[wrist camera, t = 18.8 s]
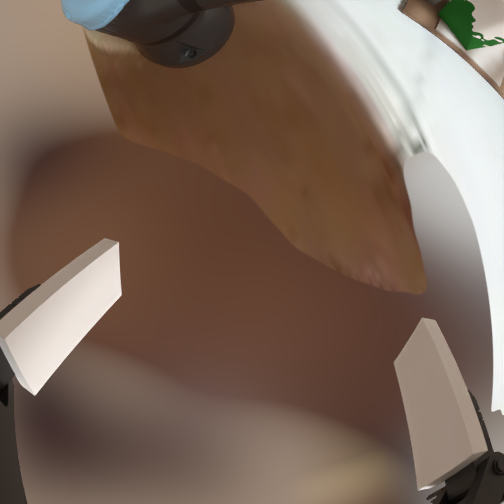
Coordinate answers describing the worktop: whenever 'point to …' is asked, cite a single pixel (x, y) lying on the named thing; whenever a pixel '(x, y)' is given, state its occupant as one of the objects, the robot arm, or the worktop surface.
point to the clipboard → (481, 59)
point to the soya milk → (475, 22)
